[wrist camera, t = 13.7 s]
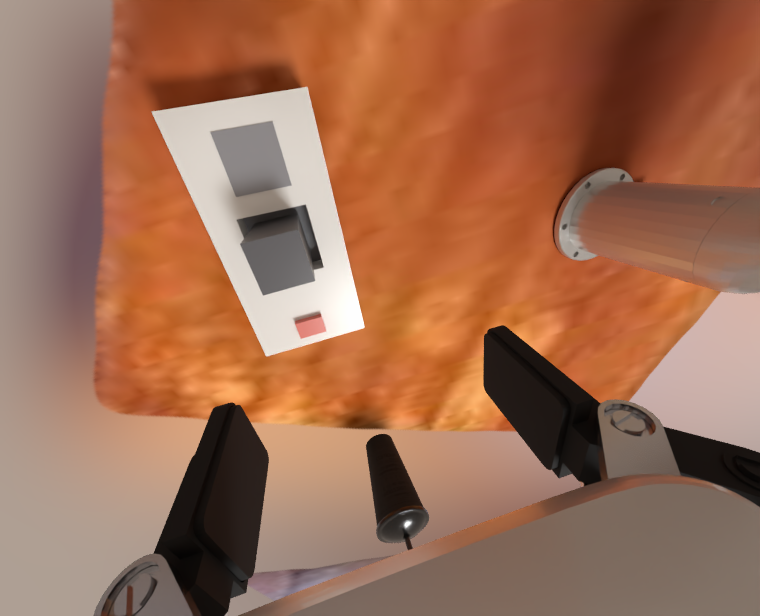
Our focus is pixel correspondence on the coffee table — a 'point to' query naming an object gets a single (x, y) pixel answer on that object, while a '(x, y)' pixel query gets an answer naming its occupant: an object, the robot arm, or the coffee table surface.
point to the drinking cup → (393, 494)
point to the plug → (279, 254)
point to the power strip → (267, 206)
